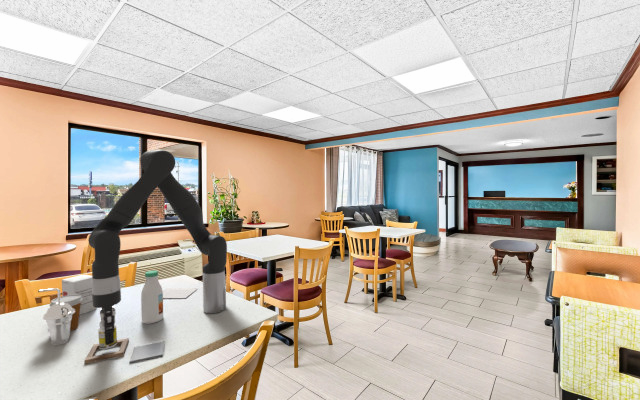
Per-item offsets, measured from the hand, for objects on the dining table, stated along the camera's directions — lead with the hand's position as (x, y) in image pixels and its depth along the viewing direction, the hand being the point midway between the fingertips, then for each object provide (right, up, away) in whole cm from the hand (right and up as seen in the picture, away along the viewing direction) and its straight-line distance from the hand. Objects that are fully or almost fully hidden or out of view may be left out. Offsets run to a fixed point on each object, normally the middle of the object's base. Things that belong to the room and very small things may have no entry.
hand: (108, 340), depth 96 cm
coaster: (+13, -4, -1) cm, 14 cm away
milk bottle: (+1, -3, +23) cm, 24 cm away
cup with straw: (-22, -4, +6) cm, 23 cm away
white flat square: (-9, -3, +49) cm, 50 cm away
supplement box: (-36, -3, +32) cm, 49 cm away
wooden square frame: (0, -4, 0) cm, 4 cm away
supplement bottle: (0, -2, 0) cm, 2 cm away
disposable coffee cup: (-27, -4, +16) cm, 32 cm away
